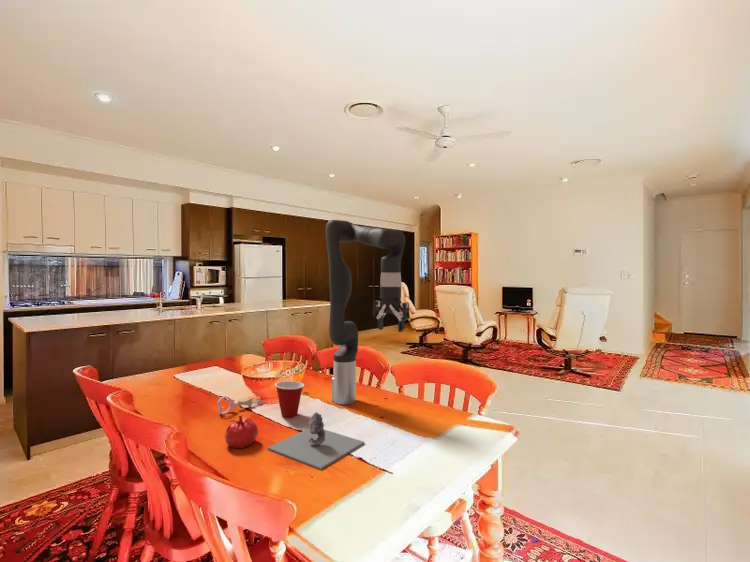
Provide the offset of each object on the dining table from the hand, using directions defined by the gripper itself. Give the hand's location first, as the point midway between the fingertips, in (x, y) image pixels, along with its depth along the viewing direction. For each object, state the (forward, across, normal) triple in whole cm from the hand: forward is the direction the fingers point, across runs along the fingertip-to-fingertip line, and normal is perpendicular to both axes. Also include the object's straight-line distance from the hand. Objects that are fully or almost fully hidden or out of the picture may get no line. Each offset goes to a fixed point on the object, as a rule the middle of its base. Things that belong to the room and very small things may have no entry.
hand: (390, 330), depth 142 cm
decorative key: (+34, -56, -22) cm, 69 cm away
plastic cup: (+33, -35, -16) cm, 51 cm away
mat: (+33, -8, -30) cm, 45 cm away
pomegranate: (+33, -29, -42) cm, 61 cm away
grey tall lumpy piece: (+33, -8, -30) cm, 45 cm away
